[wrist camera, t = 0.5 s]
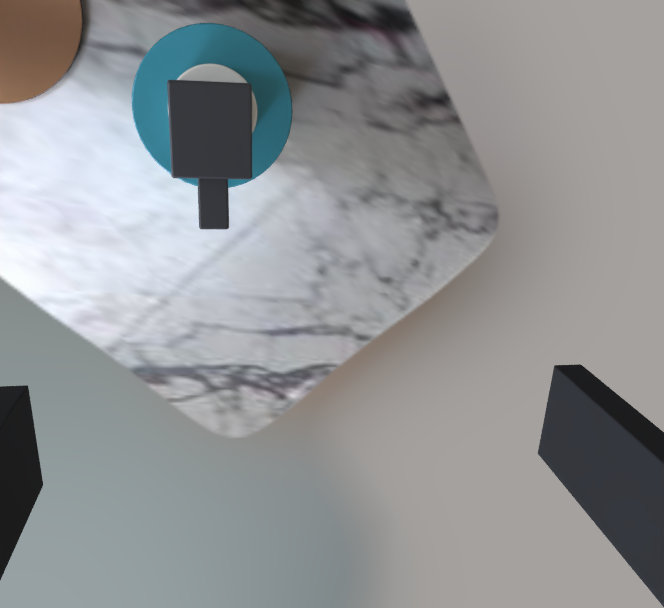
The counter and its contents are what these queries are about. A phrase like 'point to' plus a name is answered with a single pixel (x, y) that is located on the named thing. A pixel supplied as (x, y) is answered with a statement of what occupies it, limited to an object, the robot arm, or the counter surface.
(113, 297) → the counter surface
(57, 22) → the coaster
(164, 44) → the spray bottle
